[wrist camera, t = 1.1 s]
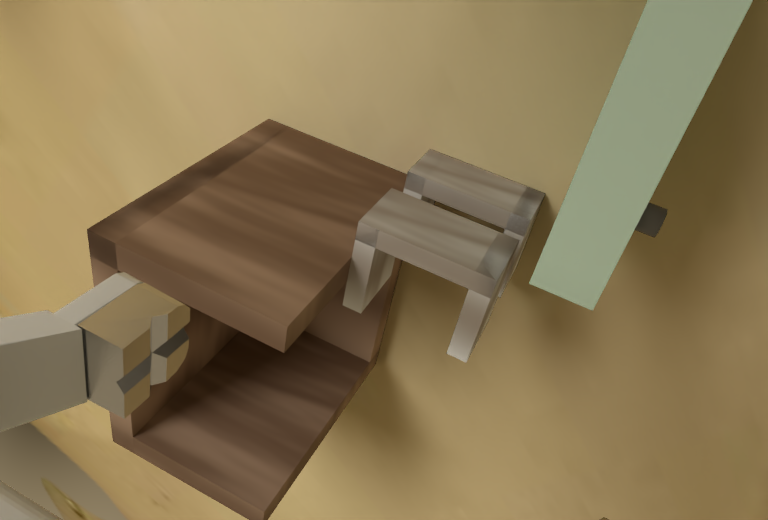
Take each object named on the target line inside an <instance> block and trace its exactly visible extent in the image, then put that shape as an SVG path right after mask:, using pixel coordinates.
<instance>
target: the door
mask: <svg viewBox="0 0 768 520" xmlns="http://www.w3.org/2000/svg"><path fill="white" fill-rule="evenodd" d="M752 1H753V0H648V1H647V3H646V5H645V8H644V10H643V13H642V15H641V17H640V20H639V22H638V25H637V27H636V29H635V32H634V34H633V36H632V39H631V41H630V44H629V46H628V48H627V51H626V53H625V56H624V58H623V60H622V63H621V65H620V67H619V70H618V72H617V75H616V77H615V79H614V82H613V84H612V87H611V89H610V91H609V94H608V96H607V98H606V101H605V103H604V106H603V108H602V110H601V113H600V115H599V118H598V120H597V122H596V125H595V127H594V129H593V132H592V134H591V137H590V139H589V141H588V144H587V146H586V149H585V151H584V153H583V156H582V158H581V160H580V163H579V165H578V168H577V170H576V172H575V175H574V177H573V180H572V182H571V184H570V187H569V189H568V191H567V194H566V196H565V199H564V201H563V203H562V206H561V208H560V211H559V213H558V215H557V218H556V220H555V222H554V225H553V227H552V230H551V232H550V234H549V237H548V239H547V242H546V244H545V246H544V249H543V251H542V253H541V256H540V258H539V261H538V263H537V265H536V268H535V270H534V273H533V275H532V277H531V280H530V282H529V284H531V285H533V286H536V287H538V288H540V289H543V290H545V291H547V292H550V293H552V294H554V295H557V296H559V297H561V298H564V299H566V300H568V301H571V302H573V303H576V304H578V305H580V306H583V307H585V308H587V309H590V310H592V311H593V309H594V307H595V305H596V303H597V301H598V300H599V298H600V296H601V294H602V292H603V290H604V288H605V286H606V284H607V282H608V280H609V278H610V276H611V274H612V272H613V270H614V269H615V267H616V265H617V263H618V261H619V259H620V257H621V255H622V253H623V251H624V249H625V247H626V245H627V243H628V241H629V239H630V238H631V236H632V234H633V232H634V230H636V231H639V232H642V233H644V234H647V235H649V236H652V237H655V236H656V235H657V233H658V232H659V230H660V228H661V226H662V224H663V222H664V219H665V217H666V214H667V209H665V208H662V207H659V206H657V205H654V204H651V203H649V201H650V199H651V197H652V195H653V193H654V191H655V189H656V187H657V185H658V183H659V181H660V179H661V178H662V176H663V174H664V172H665V170H666V168H667V166H668V164H669V162H670V160H671V158H672V156H673V154H674V152H675V150H676V148H677V147H678V145H679V143H680V141H681V139H682V137H683V135H684V133H685V131H686V129H687V127H688V125H689V123H690V121H691V119H692V117H693V116H694V114H695V112H696V110H697V108H698V106H699V104H700V102H701V100H702V98H703V96H704V94H705V92H706V90H707V88H708V87H709V85H710V83H711V81H712V79H713V77H714V75H715V73H716V71H717V69H718V67H719V65H720V63H721V61H722V59H723V57H724V56H725V54H726V52H727V50H728V48H729V46H730V44H731V42H732V40H733V38H734V36H735V34H736V32H737V30H738V28H739V26H740V25H741V23H742V21H743V19H744V17H745V15H746V13H747V11H748V9H749V7H750V5H751V3H752Z"/></svg>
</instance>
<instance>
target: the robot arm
mask: <svg viewBox="0 0 768 520" xmlns="http://www.w3.org/2000/svg"><path fill="white" fill-rule="evenodd" d="M189 322H190V308H189V307H188V306H186V305H185V304H183V303H181V302H179V301H177V300H176V299H174V298H172V297H170V296H168V295H166V294H165V293H163V292H161V291H159V290H157V289H155V288H154V287H152V286H150V285H148V284H146V283H144V282H142V281H140V280H138V279H136V278H134V277H133V276H131V275H129V274H127V273H125V272H122V273H116V274H114V275H112V276H111V277H109V278H107V279H106V280H104V281H103V282H101V283H100V284H98V285H97V286H95V287H94V288H92V289H90V290H89V291H87V292H86V293H84V294H83V295H81V296H80V297H78V298H76V299H75V300H73V301H72V302H70V303H69V304H67V305H66V306H64V307H62V308H61V309H59V310H58V311H56V312H55V313H52V312H50V311H48V310H45V311H39V312H33V313H28V314H22V315H16V316H10V317H4V318H0V432H2V431H5V430H8V429H11V428H13V427H16V426H19V425H22V424H25V423H28V422H31V421H34V420H37V419H39V418H42V417H45V416H48V415H51V414H54V413H57V412H59V411H62V410H65V409H68V408H71V407H74V406H77V405H79V404H82V403H85V402H87V399H88V400H90V401H92V402H94V403H96V404H97V405H99V406H101V407H103V408H105V409H107V410H109V411H111V412H112V413H114V414H116V415H118V416H120V417H122V418H124V419H125V418H126V417H127V416H128V415H130V414H131V413H132V412H133V411H134V410H135V409H136V408H137V407H138V406H140V405H141V404H142V403H143V402H144V401H145V400H146V399H147V398H149V397H150V391H151V385H155V384H159V383H163V382H166V381H167V380H168V379H169V378H170V377H172V376H173V375H174V374H175V373H176V372H177V370H178V369H179V367H180V366H181V364H182V363H183V361H184V359H185V357H186V354H187V351H188V347H189V337H188V335H187V333H186V331H185V329H184V326H185V325H186V324H188V323H189ZM0 520H62V519H61V518H59V517H57V516H56V515H54V514H53V513H51V512H49V511H48V510H46V509H45V508H43V507H42V506H40V505H38V504H37V503H35V502H34V501H32V500H30V499H29V498H27V497H26V496H24V495H23V494H21V493H19V492H18V491H16V490H14V489H13V488H12V487H10V486H8V485H7V484H5V483H4V482H2V481H1V480H0ZM600 520H609V519H607V518H605V517H603V518H602V519H600Z"/></svg>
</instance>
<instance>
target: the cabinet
mask: <svg viewBox="0 0 768 520" xmlns="http://www.w3.org/2000/svg"><path fill="white" fill-rule="evenodd" d="M544 196H545V193H542V192H540V191H537V190H535V189H532V188H530V187H527V186H524V185H522V184H519V183H517V182H514V181H511V180H509V179H506V178H504V177H501V176H499V175H496V174H493V173H491V172H488V171H486V170H483V169H481V168H478V167H475V166H473V165H470V164H468V163H465V162H463V161H460V160H457V159H455V158H452V157H450V156H447V155H445V154H442V153H439V152H437V151H434V150H432V149H429V150H428V152H427V153H426V154H425V155H424V156H423V157H422V158H421V159H420V160H419V161H418V162H417V163H416V164H415V165H414V166H413V167H412V168H411V169H410V170H409V171H408V174H404V173H402V172H399V171H397V170H395V169H392V168H390V167H387V166H385V165H382V164H380V163H377V162H375V161H372V160H370V159H367V158H365V157H362V156H360V155H357V154H355V153H352V152H350V151H347V150H345V149H342V148H340V147H337V146H335V145H332V144H330V143H327V142H325V141H322V140H320V139H317V138H315V137H312V136H310V135H307V134H305V133H302V132H300V131H298V130H295V129H293V128H290V127H288V126H285V125H283V124H280V123H278V122H275V121H273V120H270V119H268V120H266V121H265V122H263V123H261V124H260V125H258V126H256V127H255V128H253V129H251V130H250V131H248V132H246V133H245V134H243V135H241V136H240V137H238V138H237V139H235V140H233V141H232V142H230V143H228V144H227V145H225V146H223V147H222V148H220V149H218V150H217V151H215V152H214V153H212V154H210V155H209V156H207V157H205V158H204V159H202V160H200V161H199V162H197V163H195V164H194V165H192V166H190V167H189V168H187V169H186V170H184V171H182V172H181V173H179V174H177V175H176V176H174V177H172V178H171V179H169V180H167V181H166V182H164V183H163V184H161V185H159V186H158V187H156V188H154V189H153V190H151V191H149V192H148V193H146V194H144V195H143V196H141V197H139V198H138V199H136V200H135V201H133V202H131V203H130V204H128V205H126V206H125V207H123V208H121V209H120V210H118V211H116V212H115V213H113V214H111V215H110V216H108V217H107V218H105V219H103V220H102V221H100V222H98V223H97V224H95V225H93V226H92V227H90V228H88V229H87V233H88V241H89V249H90V257H91V266H92V274H93V282H94V287H95V286H97V285H98V284H100V283H101V282H103V281H104V280H106V279H107V278H109V277H111V276H112V275H114V274H116V273H122V272H125V273H127V274H129V275H131V276H133V277H134V278H136V279H138V280H140V281H142V282H144V283H146V284H148V285H150V286H152V287H154V288H155V289H157V290H159V291H161V292H163V293H165V294H166V295H168V296H170V297H172V298H174V299H176V300H177V301H179V302H181V303H183V304H185V305H186V306H188V307H189V308H190V322H189V323H188V324H186V325H185V326H184V329H185V331H186V333H187V335H188V337H189V347H188V351H187V354H186V357H185V359H184V361H183V363H182V364H181V366H180V367H179V369H178V370H177V372H176V373H175V374H174V375H173V376H172V377H170V378H169V379H168V380H167V381H166V382H163V383H159V384H155V385H151V391H150V397H149V398H147V399H146V400H145V401H144V402H143V403H142V404H141V405H140V406H138V407H137V408H136V409H135V410H134V411H133V412H132V413H131V414H130V415H128V416H127V417H126V418H125V419H124V418H122V417H120V416H118V415H116V414H114V413H112V412H111V411H109V412H110V420H111V428H112V436H113V441H114V442H115V443H117V444H119V445H120V446H122V447H124V448H126V449H127V450H129V451H131V452H133V453H134V454H136V455H138V456H140V457H141V458H143V459H145V460H146V461H148V462H150V463H152V464H153V465H155V466H157V467H159V468H160V469H162V470H164V471H166V472H167V473H169V474H171V475H172V476H174V477H176V478H178V479H179V480H181V481H183V482H185V483H186V484H188V485H190V486H192V487H193V488H195V489H197V490H198V491H200V492H202V493H204V494H205V495H207V496H209V497H211V498H212V499H214V500H216V501H218V502H219V503H221V504H223V505H225V506H226V507H228V508H230V509H231V510H233V511H235V512H237V513H238V514H240V515H242V516H244V517H245V518H247V519H249V520H268V518H269V517H270V515H271V514H272V513H273V511H274V510H275V508H276V507H277V505H278V504H279V502H280V501H281V500H282V498H283V497H284V495H285V494H286V492H287V491H288V489H289V488H290V487H291V485H292V484H293V482H294V481H295V479H296V478H297V476H298V475H299V474H300V472H301V471H302V469H303V468H304V466H305V465H306V463H307V462H308V461H309V459H310V458H311V456H312V455H313V453H314V452H315V450H316V449H317V448H318V446H319V445H320V443H321V442H322V440H323V439H324V437H325V436H326V435H327V433H328V432H329V430H330V429H331V427H332V426H333V424H334V423H335V422H336V420H337V419H338V417H339V416H340V414H341V413H342V411H343V410H344V409H345V407H346V406H347V404H348V403H349V401H350V400H351V398H352V397H353V396H354V394H355V393H356V391H357V390H358V388H359V387H360V385H361V384H362V383H363V381H364V380H365V378H366V377H367V375H368V374H369V372H370V371H371V370H372V368H373V367H374V365H375V364H376V360H377V356H378V352H379V348H380V344H381V340H382V336H383V333H384V329H385V325H386V321H387V317H388V313H389V309H390V305H391V301H392V297H393V293H394V289H395V285H396V281H397V277H398V273H399V269H400V265H401V262H402V260H403V261H405V262H408V263H410V264H412V265H415V266H417V267H419V268H422V269H424V270H426V271H428V272H431V273H433V274H435V275H438V276H440V277H442V278H444V279H447V280H449V281H451V282H454V283H456V284H458V285H460V286H463V287H465V288H467V289H469V290H468V293H467V296H466V299H465V301H464V304H463V307H462V310H461V313H460V316H459V319H458V322H457V325H456V327H455V330H454V333H453V336H452V339H451V342H450V345H449V348H448V350H447V353H446V354H449V355H451V356H453V357H455V358H457V359H459V360H461V361H464V362H467V360H468V359H469V357H470V355H471V353H472V351H473V349H474V347H475V345H476V343H477V341H478V339H479V338H480V336H481V334H482V332H483V330H484V328H485V326H486V324H487V322H488V320H489V318H490V316H491V313H492V310H493V308H494V305H495V303H496V300H497V297H501V296H502V294H503V292H504V290H505V288H506V286H507V284H508V282H509V280H510V278H511V276H512V275H513V273H514V271H515V269H516V266H517V264H518V261H519V259H520V256H521V254H522V251H523V249H524V246H525V244H526V241H527V239H528V236H529V234H530V231H531V229H532V226H533V223H534V221H535V218H536V216H537V213H538V211H539V208H540V206H541V203H542V201H543V198H544ZM435 201H437V202H440V203H442V204H445V205H447V206H449V207H452V208H454V209H457V210H459V211H462V212H464V213H467V214H469V215H472V216H474V217H476V218H479V219H481V220H484V221H486V222H489V223H491V224H494V225H496V226H499V227H501V228H503V229H505V230H504V233H501V232H498V231H496V230H493V229H491V228H488V227H486V226H483V225H481V224H479V223H476V222H474V221H471V220H469V219H466V218H464V217H461V216H459V215H457V214H454V213H452V212H449V211H447V210H444V209H442V208H440V207H437V206H435V205H434V202H435Z"/></svg>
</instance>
